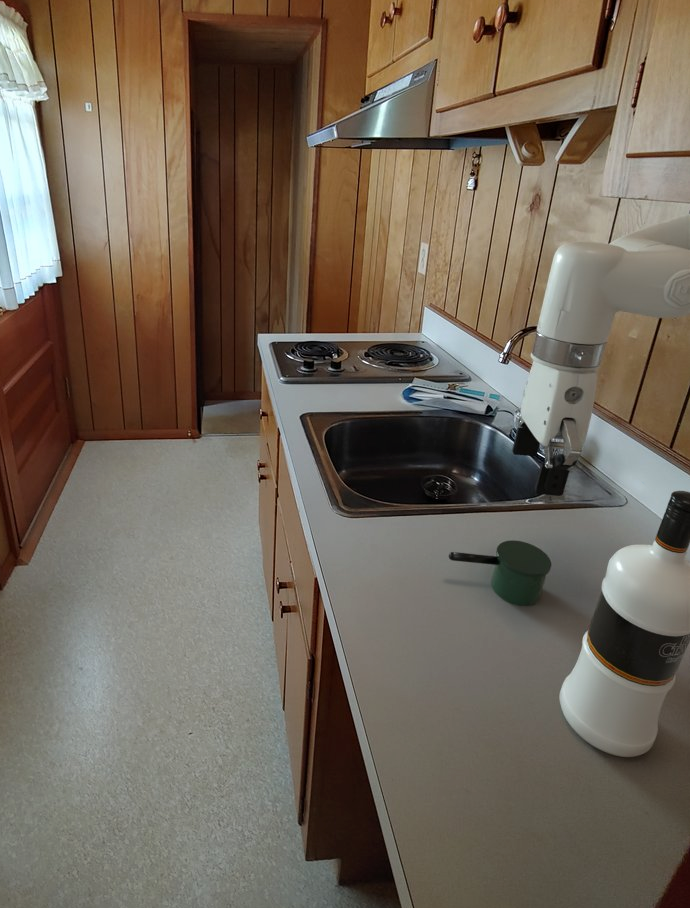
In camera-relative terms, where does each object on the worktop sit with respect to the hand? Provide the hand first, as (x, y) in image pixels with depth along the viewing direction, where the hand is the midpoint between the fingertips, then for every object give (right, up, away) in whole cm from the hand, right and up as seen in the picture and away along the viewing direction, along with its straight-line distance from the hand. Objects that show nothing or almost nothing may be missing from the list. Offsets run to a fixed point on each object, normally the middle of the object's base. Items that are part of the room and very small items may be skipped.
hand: (535, 472), depth 72 cm
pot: (-2, -18, +9) cm, 20 cm away
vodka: (+2, -27, -10) cm, 29 cm away
